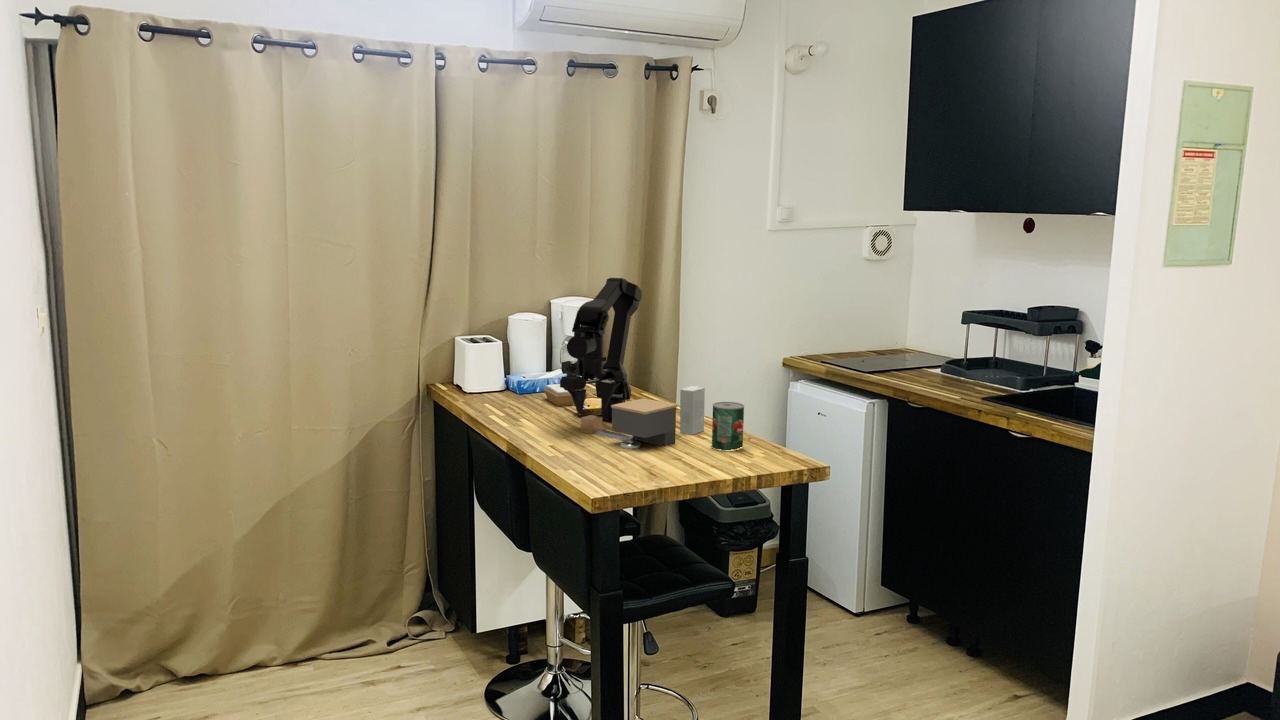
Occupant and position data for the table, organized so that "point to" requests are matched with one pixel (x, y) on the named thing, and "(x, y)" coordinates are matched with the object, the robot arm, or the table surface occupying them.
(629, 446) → the token
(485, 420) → the table surface
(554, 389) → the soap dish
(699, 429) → the skincare box
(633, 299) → the robot arm
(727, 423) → the canned tomato
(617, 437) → the brown block with rod
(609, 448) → the table surface
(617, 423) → the cabinet
